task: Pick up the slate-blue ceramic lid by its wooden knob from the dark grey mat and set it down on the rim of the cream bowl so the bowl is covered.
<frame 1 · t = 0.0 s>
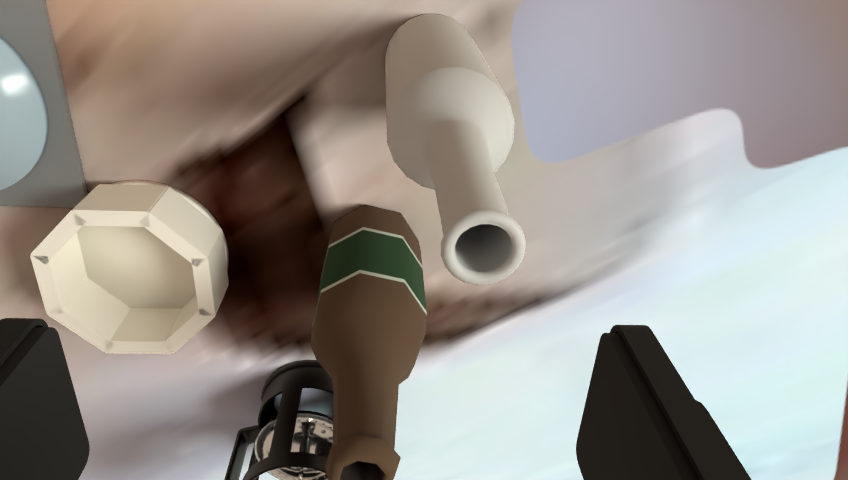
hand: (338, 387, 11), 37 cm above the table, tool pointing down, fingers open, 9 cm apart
beer bottle: (372, 242, 51), on the table
french press: (307, 398, 59), on the table
bowl: (151, 250, 51), on the table
bottle: (430, 61, 45), on the table
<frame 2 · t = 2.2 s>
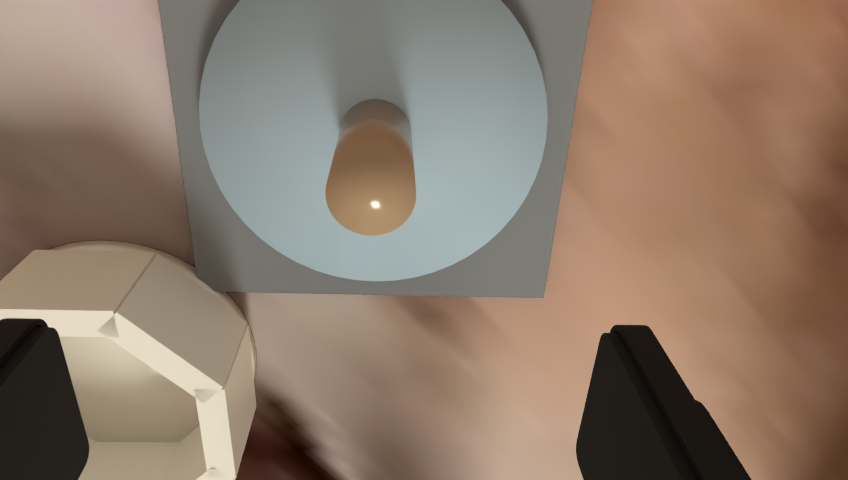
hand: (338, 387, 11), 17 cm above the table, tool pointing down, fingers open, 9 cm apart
lid: (376, 127, 25), point 1 cm above the table, touching mat
bowl: (128, 352, 30), on the table
mat: (376, 123, 26), on the table
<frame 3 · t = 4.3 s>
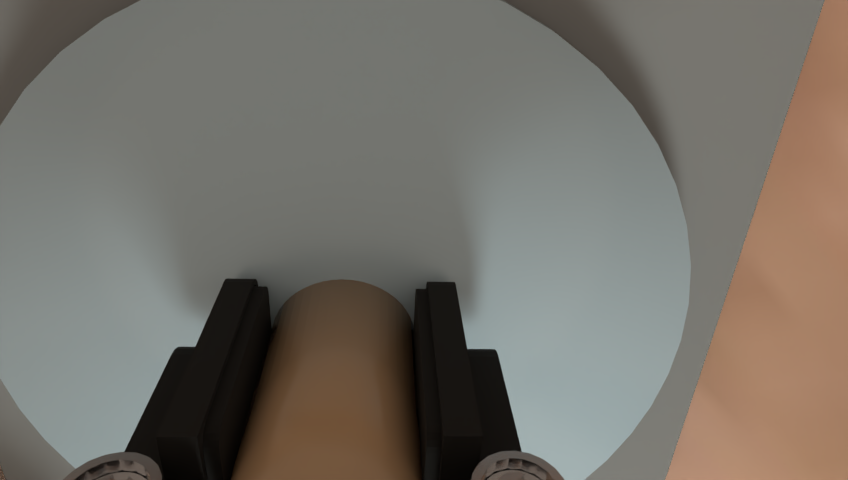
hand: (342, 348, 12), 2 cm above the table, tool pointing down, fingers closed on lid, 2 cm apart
lid: (346, 316, 13), point 1 cm above the table, touching gripper, mat
mat: (348, 299, 13), on the table
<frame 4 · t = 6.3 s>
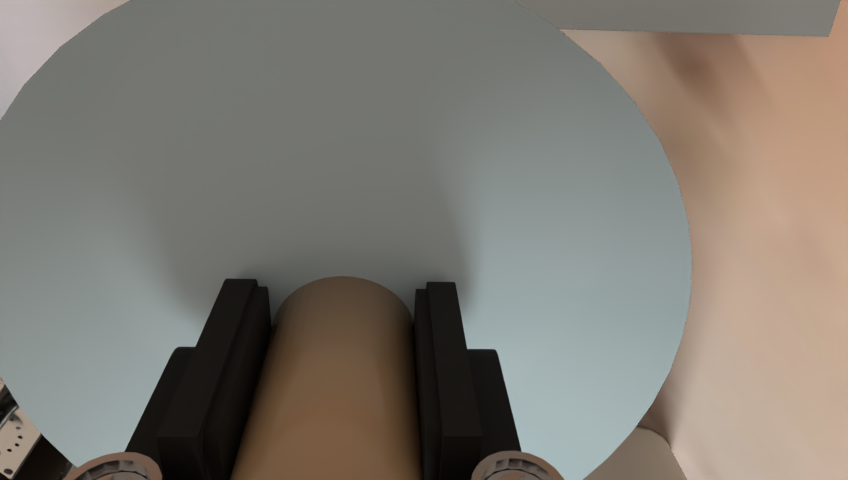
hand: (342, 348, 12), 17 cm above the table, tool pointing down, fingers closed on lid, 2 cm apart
french press: (50, 333, 32), on the table
lid: (346, 313, 13), point 16 cm above the table, touching gripper
bottle: (617, 461, 39), on the table
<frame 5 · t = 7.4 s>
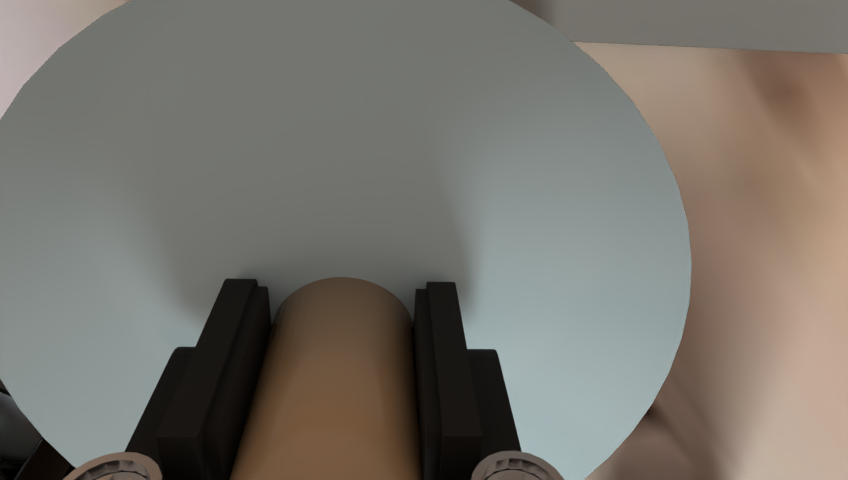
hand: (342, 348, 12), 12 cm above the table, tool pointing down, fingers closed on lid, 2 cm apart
french press: (4, 390, 27), on the table
lid: (346, 314, 13), point 11 cm above the table, touching gripper
when the fingers open (8 cm above the table, at t = 8.3 s): lid drops 2 cm, resting on bowl.
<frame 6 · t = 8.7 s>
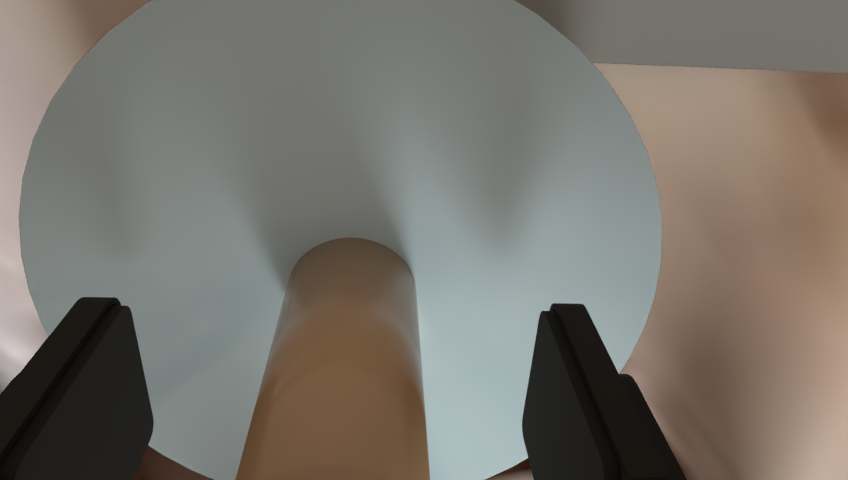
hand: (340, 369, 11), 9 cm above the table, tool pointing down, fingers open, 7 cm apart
lid: (354, 274, 14), point 5 cm above the table, touching bowl
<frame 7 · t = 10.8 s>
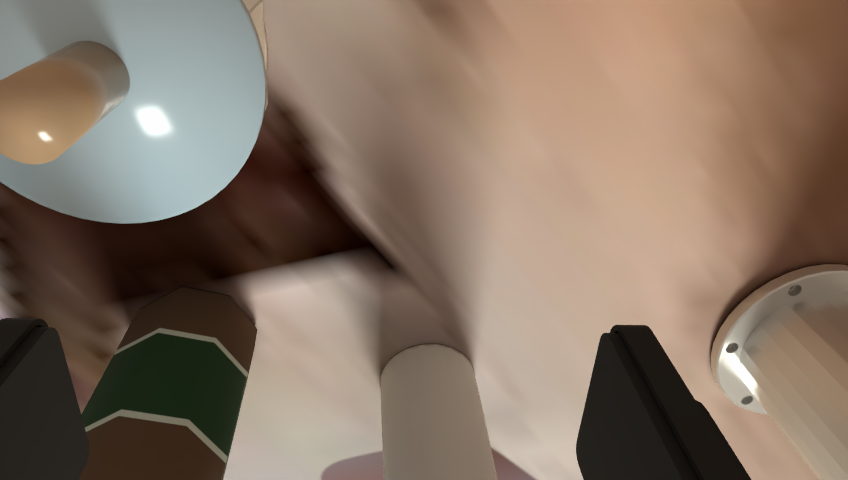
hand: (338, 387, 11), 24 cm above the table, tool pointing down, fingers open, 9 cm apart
beer bottle: (199, 331, 40), on the table
lid: (100, 71, 26), point 5 cm above the table, touching bowl
bowl: (140, 43, 31), on the table
bottle: (427, 378, 43), on the table
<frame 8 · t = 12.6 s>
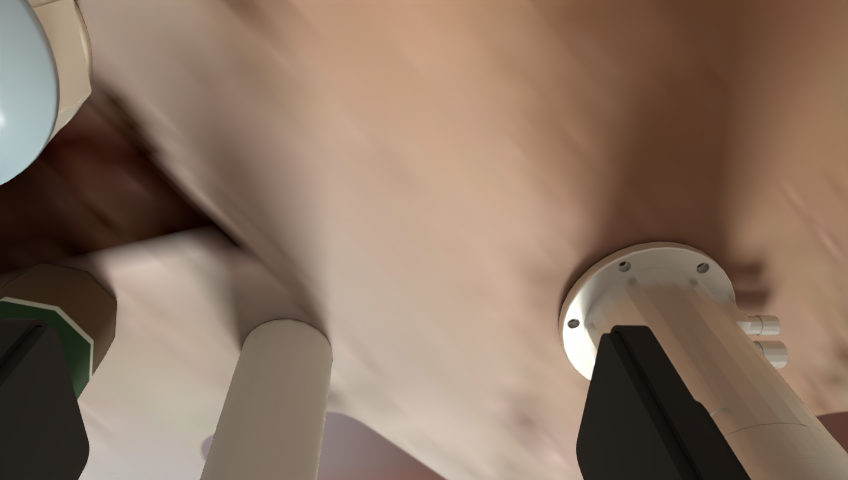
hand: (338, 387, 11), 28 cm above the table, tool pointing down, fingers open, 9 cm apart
beer bottle: (66, 305, 43), on the table
bottle: (288, 353, 46), on the table
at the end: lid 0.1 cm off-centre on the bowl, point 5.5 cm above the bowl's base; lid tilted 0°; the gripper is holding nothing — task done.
